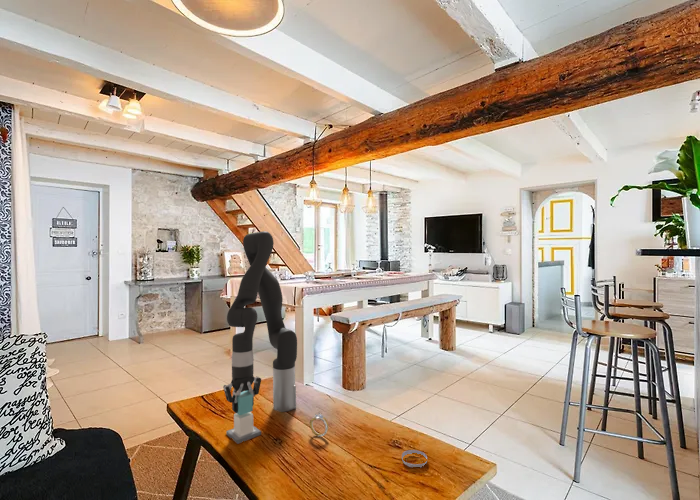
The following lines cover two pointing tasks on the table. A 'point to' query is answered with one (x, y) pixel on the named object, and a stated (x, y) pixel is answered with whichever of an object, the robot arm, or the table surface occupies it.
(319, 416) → the ring
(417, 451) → the gray circular band
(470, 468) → the table surface
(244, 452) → the table surface
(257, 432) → the baseplate
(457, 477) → the table surface
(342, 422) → the table surface
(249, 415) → the cream brick
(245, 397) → the teal brick
